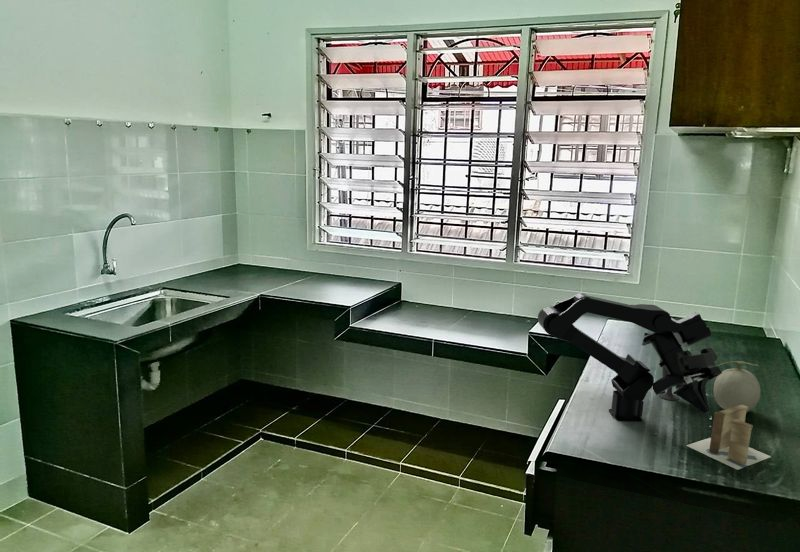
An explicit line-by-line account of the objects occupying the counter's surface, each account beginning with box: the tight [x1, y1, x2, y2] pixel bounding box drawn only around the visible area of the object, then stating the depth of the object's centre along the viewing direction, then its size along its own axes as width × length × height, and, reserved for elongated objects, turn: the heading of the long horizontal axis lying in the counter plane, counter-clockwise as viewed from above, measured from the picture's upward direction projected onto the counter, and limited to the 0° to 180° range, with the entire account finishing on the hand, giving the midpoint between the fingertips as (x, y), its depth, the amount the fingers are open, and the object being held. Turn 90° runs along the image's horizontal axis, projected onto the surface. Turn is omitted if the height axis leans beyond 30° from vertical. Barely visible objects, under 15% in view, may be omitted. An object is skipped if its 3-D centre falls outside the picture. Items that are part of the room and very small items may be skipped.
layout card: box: [686, 437, 772, 471], centre depth 134 cm, size 12×12×1 cm
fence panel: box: [718, 405, 748, 450], centre depth 135 cm, size 9×1×9 cm, turn 119°
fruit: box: [713, 360, 762, 413], centre depth 156 cm, size 10×12×15 cm
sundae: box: [658, 344, 683, 402], centre depth 163 cm, size 7×7×15 cm
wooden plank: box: [709, 411, 754, 465], centre depth 130 cm, size 8×2×9 cm, turn 29°
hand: (707, 412), depth 139 cm, fingers closed
